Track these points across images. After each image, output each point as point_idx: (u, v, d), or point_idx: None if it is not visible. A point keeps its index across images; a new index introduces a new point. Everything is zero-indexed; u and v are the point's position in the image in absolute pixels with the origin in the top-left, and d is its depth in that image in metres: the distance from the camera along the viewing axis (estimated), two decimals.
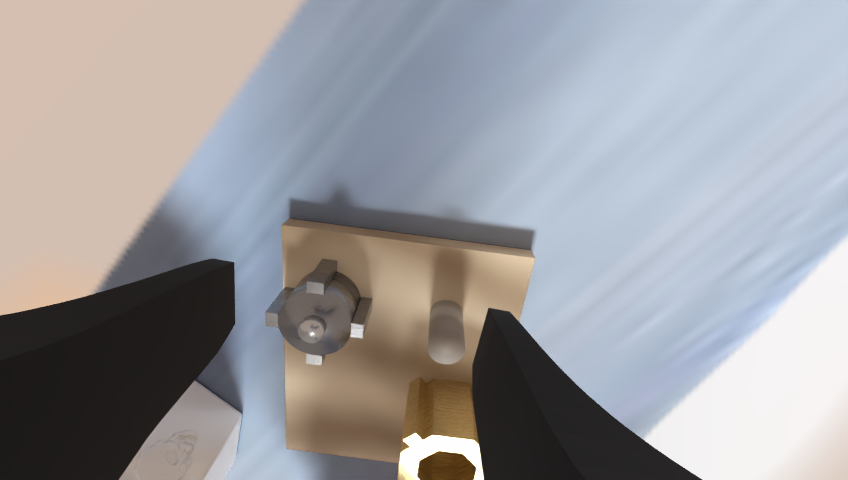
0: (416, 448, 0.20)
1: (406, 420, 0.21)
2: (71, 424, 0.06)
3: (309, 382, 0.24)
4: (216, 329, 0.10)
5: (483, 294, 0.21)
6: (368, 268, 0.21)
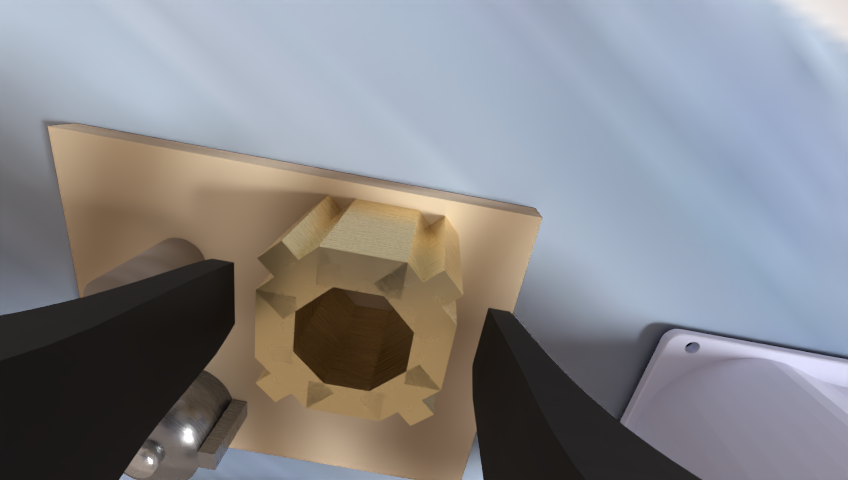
0: (293, 384, 0.11)
1: None
2: (71, 424, 0.06)
3: (331, 441, 0.17)
4: (216, 329, 0.10)
5: (132, 206, 0.13)
6: None
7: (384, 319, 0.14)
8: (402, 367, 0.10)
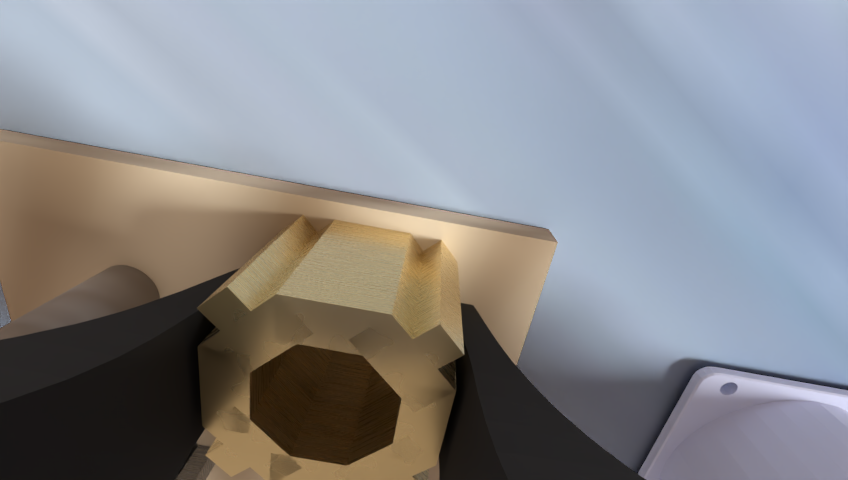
0: (252, 457, 0.08)
1: None
2: (133, 434, 0.06)
3: None
4: None
5: (68, 228, 0.11)
6: None
7: None
8: (387, 436, 0.08)
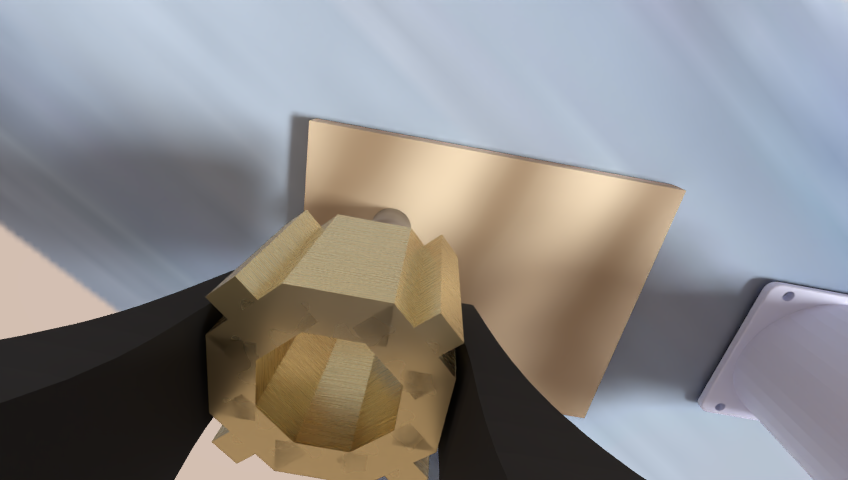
0: (257, 444, 0.09)
1: None
2: (133, 434, 0.06)
3: None
4: None
5: (362, 183, 0.17)
6: None
7: (371, 352, 0.12)
8: (388, 424, 0.09)
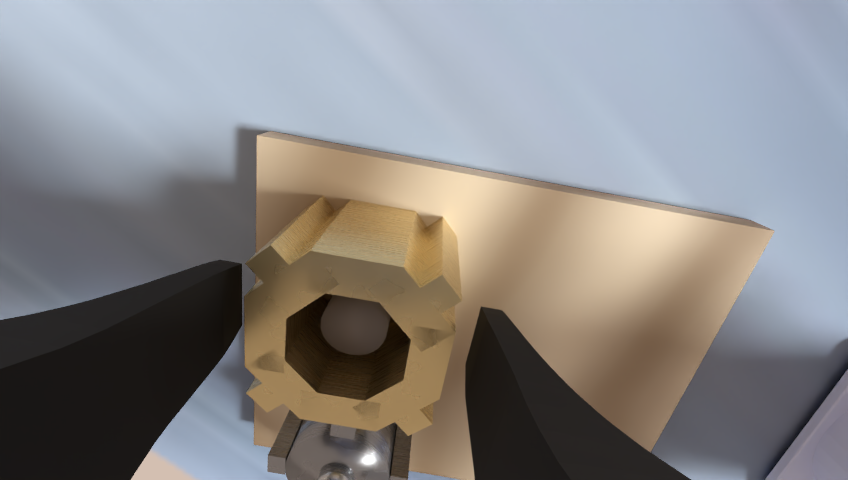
0: (285, 394, 0.10)
1: None
2: (84, 426, 0.06)
3: None
4: (224, 330, 0.10)
5: None
6: None
7: None
8: (398, 376, 0.10)
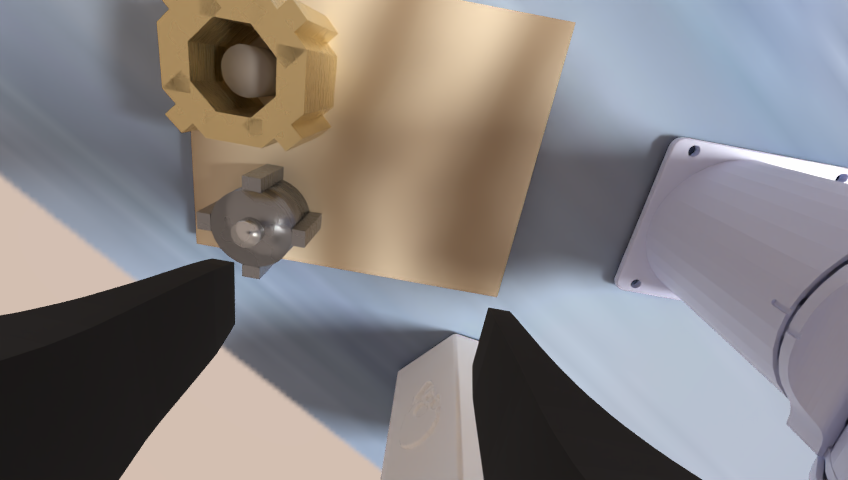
0: (193, 114, 0.14)
1: None
2: (71, 424, 0.06)
3: (390, 252, 0.20)
4: (216, 329, 0.10)
5: None
6: (230, 163, 0.19)
7: None
8: (274, 99, 0.14)
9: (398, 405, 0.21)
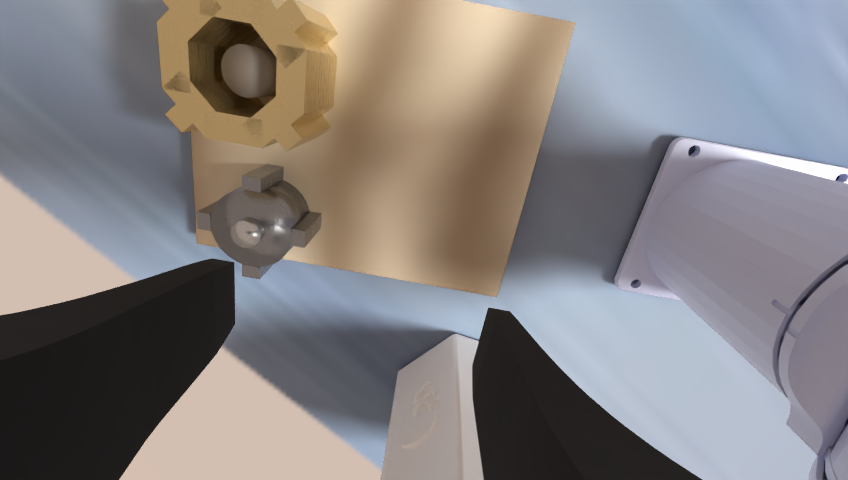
0: (193, 114, 0.14)
1: None
2: (71, 424, 0.06)
3: (390, 252, 0.20)
4: (216, 329, 0.10)
5: None
6: (230, 163, 0.19)
7: None
8: (274, 99, 0.14)
9: (398, 405, 0.21)
